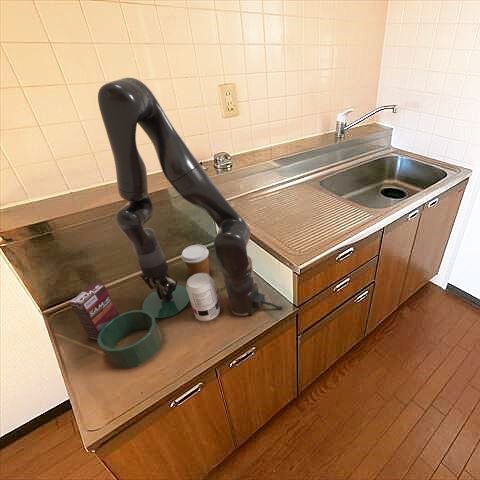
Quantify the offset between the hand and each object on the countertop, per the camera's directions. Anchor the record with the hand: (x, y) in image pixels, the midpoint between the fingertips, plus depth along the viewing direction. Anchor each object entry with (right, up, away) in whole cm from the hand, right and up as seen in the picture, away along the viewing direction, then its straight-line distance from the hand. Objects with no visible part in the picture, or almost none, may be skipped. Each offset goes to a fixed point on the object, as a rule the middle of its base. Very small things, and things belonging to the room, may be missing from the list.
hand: (166, 298), depth 110 cm
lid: (0, -1, +1) cm, 1 cm away
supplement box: (-15, -8, -8) cm, 19 cm away
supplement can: (+15, -5, -2) cm, 16 cm away
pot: (-2, -12, -14) cm, 19 cm away
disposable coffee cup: (+7, +6, +13) cm, 16 cm away
